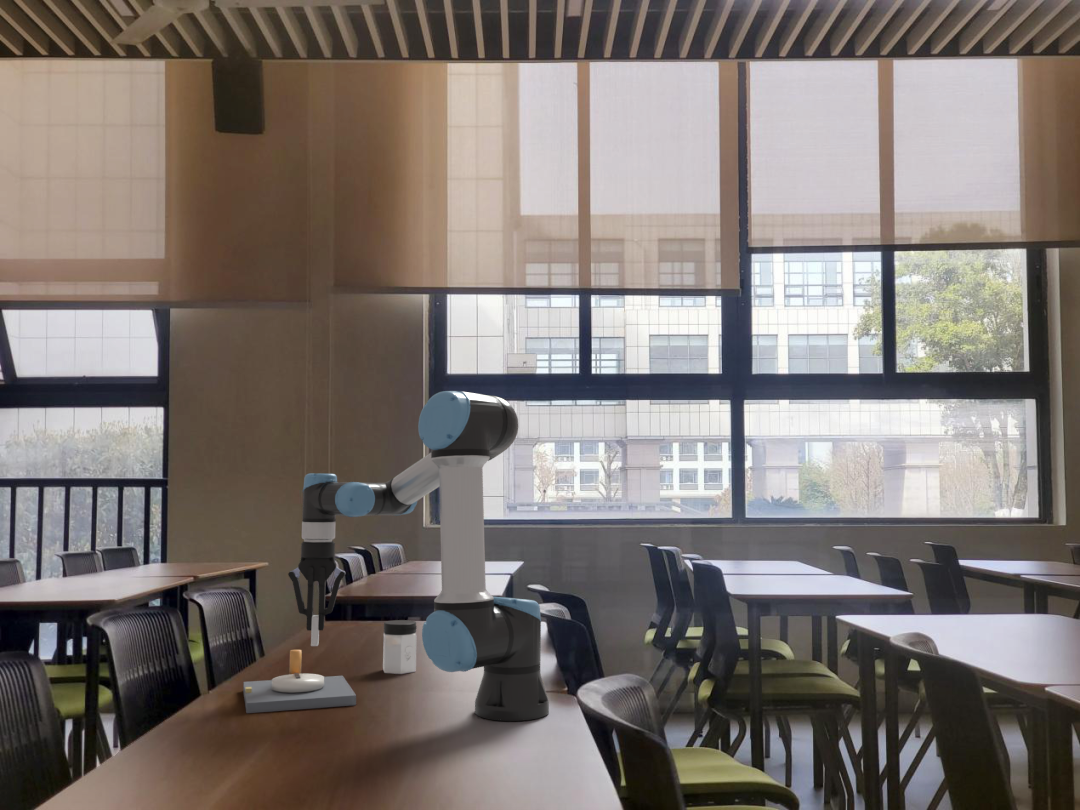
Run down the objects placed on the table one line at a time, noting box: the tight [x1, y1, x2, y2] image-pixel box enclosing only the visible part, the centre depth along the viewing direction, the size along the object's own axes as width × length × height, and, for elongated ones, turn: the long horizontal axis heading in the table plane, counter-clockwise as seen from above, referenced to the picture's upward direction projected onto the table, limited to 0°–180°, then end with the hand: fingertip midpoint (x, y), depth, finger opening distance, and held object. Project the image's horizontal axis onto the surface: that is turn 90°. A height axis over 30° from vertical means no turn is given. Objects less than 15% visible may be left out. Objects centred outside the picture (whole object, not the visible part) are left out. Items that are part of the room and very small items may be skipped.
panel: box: [242, 675, 357, 714], centre depth 198 cm, size 22×22×3 cm
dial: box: [271, 649, 325, 692], centre depth 201 cm, size 15×11×6 cm
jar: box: [382, 619, 418, 675], centre depth 229 cm, size 9×8×12 cm
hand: (314, 644), depth 207 cm, fingers closed
